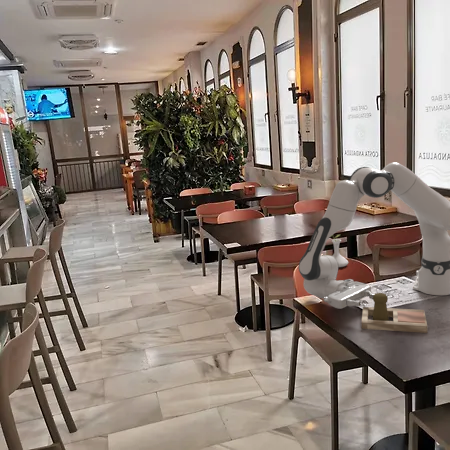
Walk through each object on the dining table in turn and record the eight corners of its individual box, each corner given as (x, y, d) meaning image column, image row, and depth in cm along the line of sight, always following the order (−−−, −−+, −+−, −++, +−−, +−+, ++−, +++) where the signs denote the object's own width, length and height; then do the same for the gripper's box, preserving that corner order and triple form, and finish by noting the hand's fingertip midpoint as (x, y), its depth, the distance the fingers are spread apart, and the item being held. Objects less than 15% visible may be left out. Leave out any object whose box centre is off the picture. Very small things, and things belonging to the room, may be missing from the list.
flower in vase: (353, 265, 234) (351, 218, 228) (337, 270, 228) (335, 222, 223) (334, 260, 245) (333, 215, 239) (319, 265, 239) (317, 219, 234)
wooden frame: (363, 312, 178) (363, 306, 177) (424, 316, 171) (424, 309, 170) (361, 328, 165) (361, 321, 165) (427, 332, 158) (427, 325, 157)
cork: (385, 317, 172) (385, 290, 170) (391, 324, 167) (391, 296, 164) (369, 318, 172) (369, 291, 170) (375, 325, 166) (375, 297, 164)
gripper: (320, 292, 177) (350, 301, 166) (352, 277, 189) (382, 285, 178) (321, 307, 178) (350, 316, 167) (353, 292, 190) (382, 300, 179)
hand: (367, 300), depth 173 cm, fingers open, 8 cm apart
